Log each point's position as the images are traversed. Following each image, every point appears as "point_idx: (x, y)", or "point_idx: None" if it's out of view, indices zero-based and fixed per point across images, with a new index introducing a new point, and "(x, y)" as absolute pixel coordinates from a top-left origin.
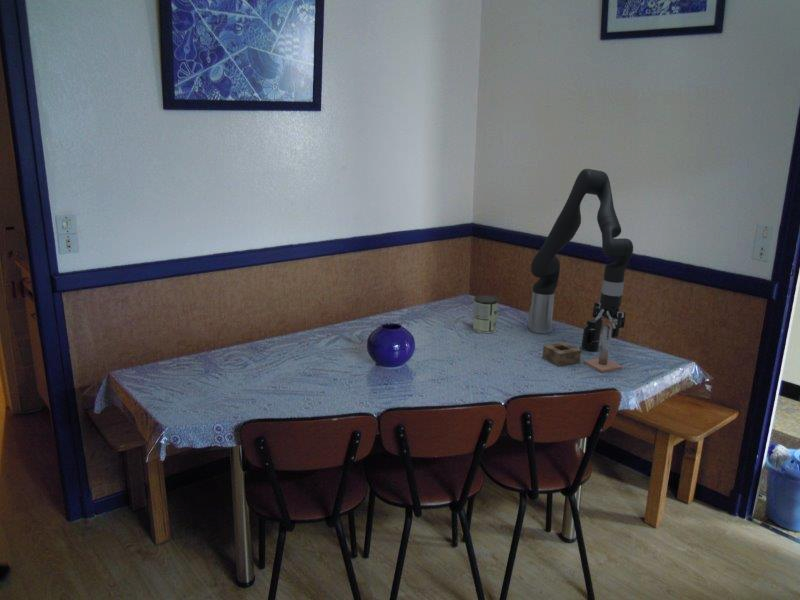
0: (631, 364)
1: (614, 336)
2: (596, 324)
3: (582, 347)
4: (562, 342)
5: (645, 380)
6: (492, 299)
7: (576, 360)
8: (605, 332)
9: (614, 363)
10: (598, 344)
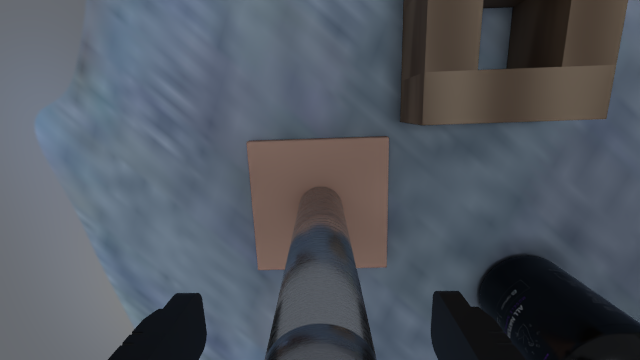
0: None
1: (159, 311)
2: (485, 336)
3: (540, 258)
4: (603, 100)
5: (121, 267)
6: None
7: (405, 96)
8: (293, 302)
9: None
10: None
